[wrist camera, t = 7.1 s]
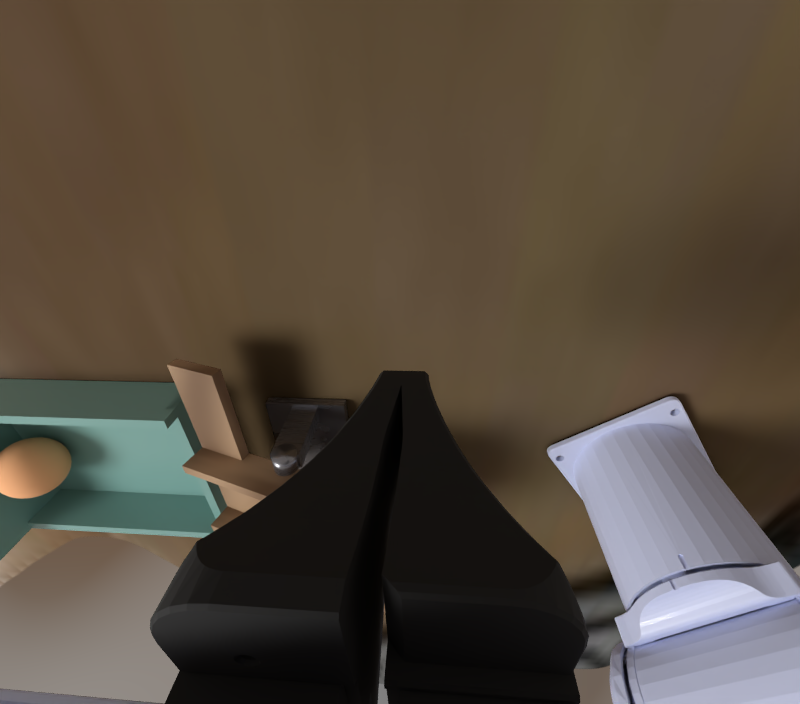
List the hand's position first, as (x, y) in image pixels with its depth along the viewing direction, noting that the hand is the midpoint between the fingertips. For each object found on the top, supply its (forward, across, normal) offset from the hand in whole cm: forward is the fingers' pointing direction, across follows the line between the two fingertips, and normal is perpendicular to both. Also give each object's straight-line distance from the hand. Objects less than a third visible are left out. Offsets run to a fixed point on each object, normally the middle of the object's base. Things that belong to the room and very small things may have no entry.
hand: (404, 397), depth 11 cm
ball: (+7, +26, +12) cm, 30 cm away
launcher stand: (+9, +7, +12) cm, 17 cm away
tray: (+9, +22, +12) cm, 27 cm away
